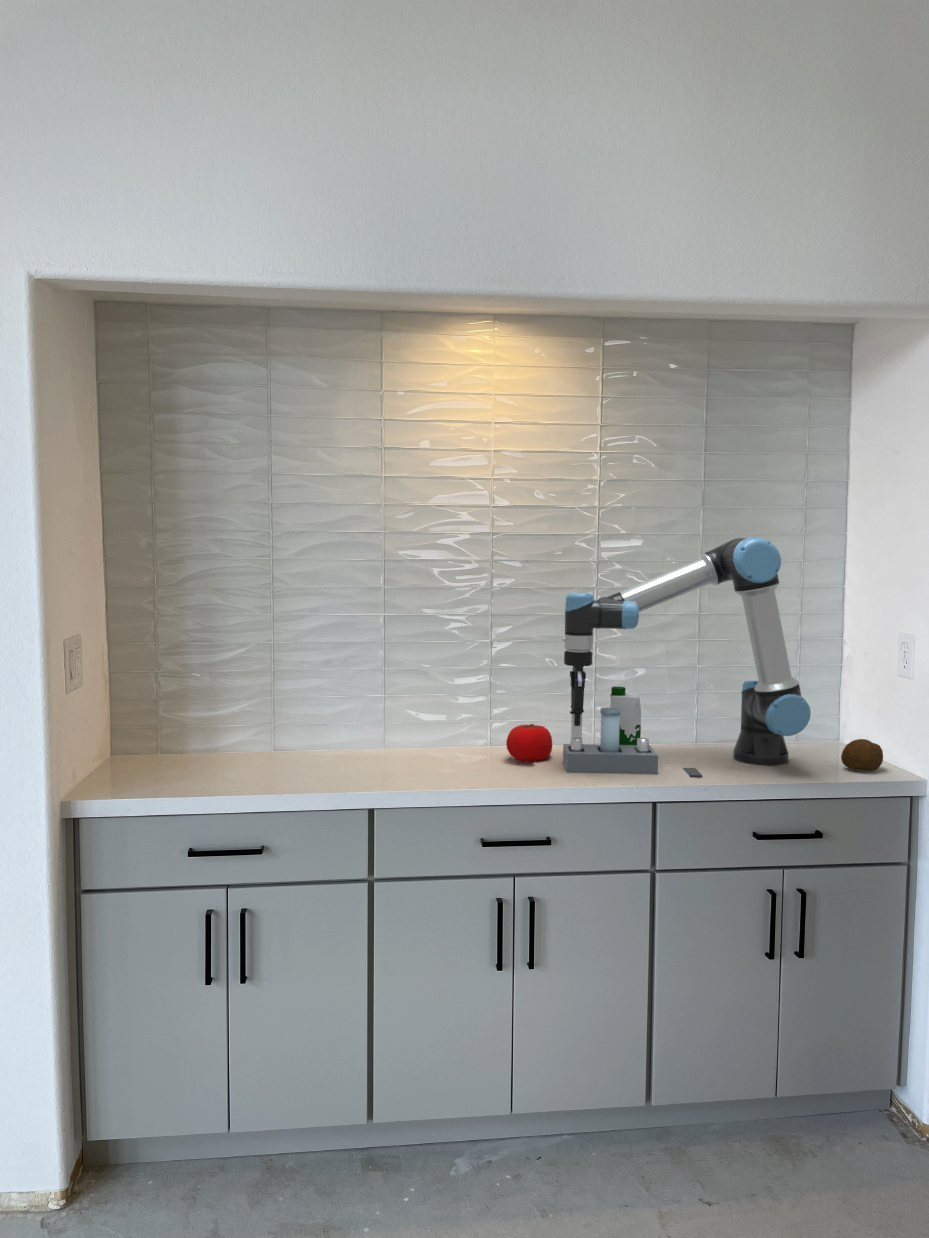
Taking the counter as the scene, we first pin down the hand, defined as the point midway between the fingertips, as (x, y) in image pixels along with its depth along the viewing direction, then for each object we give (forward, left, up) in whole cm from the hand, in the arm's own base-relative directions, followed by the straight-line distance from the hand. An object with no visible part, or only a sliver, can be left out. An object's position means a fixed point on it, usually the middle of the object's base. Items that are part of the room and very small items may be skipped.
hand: (576, 736), depth 244 cm
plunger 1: (0, 0, -7) cm, 7 cm away
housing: (-9, 0, -9) cm, 13 cm away
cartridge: (-9, 0, -8) cm, 12 cm away
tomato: (+12, -11, -10) cm, 19 cm away
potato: (-80, -6, -10) cm, 81 cm away
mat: (-29, +1, -9) cm, 30 cm away
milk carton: (-16, -19, -10) cm, 27 cm away
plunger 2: (-18, 0, -7) cm, 19 cm away
